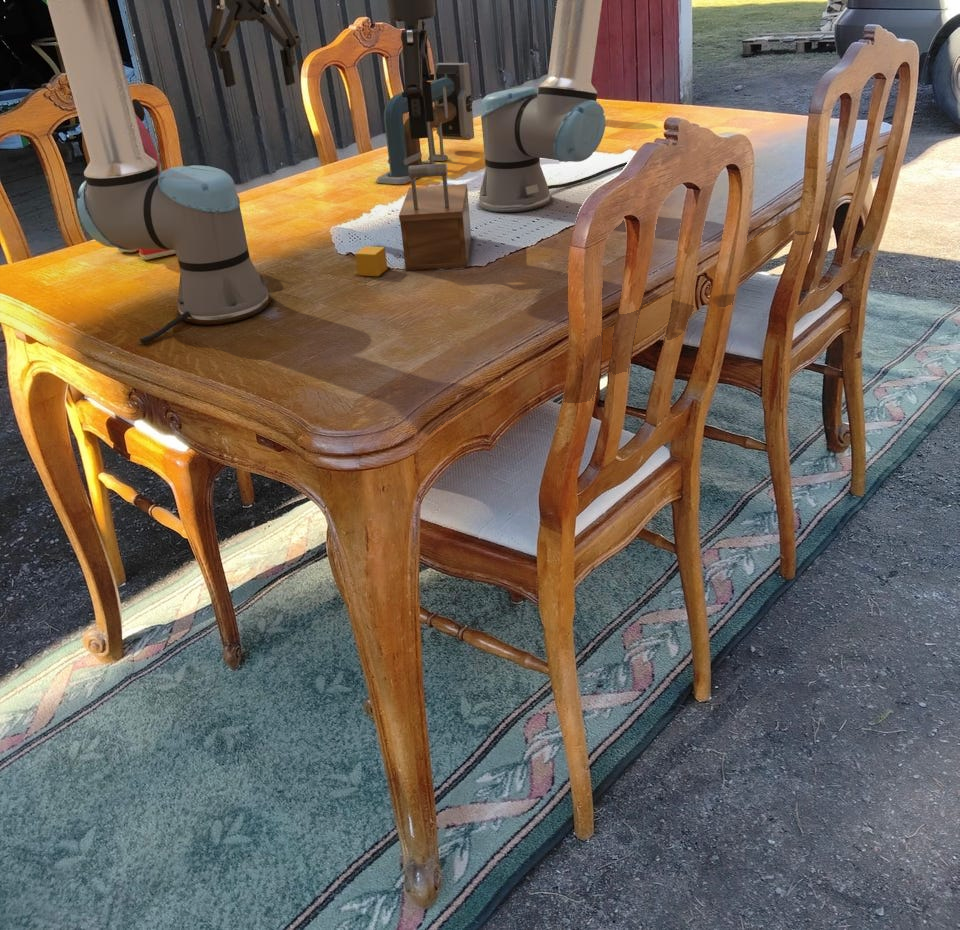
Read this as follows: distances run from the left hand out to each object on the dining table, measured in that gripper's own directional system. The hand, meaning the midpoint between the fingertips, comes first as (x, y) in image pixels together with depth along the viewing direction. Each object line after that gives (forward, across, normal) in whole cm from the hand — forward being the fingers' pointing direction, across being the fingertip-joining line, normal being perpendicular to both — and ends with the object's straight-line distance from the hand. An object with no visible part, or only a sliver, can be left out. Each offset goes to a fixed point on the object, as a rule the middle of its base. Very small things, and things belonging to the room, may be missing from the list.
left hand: (260, 85), depth 196 cm
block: (+28, -33, +29) cm, 52 cm away
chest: (+28, -42, +18) cm, 54 cm away
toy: (+28, +20, +21) cm, 40 cm away
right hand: (+4, -44, +24) cm, 50 cm away
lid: (+19, -42, +18) cm, 50 cm away
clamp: (+28, -16, -47) cm, 57 cm away
